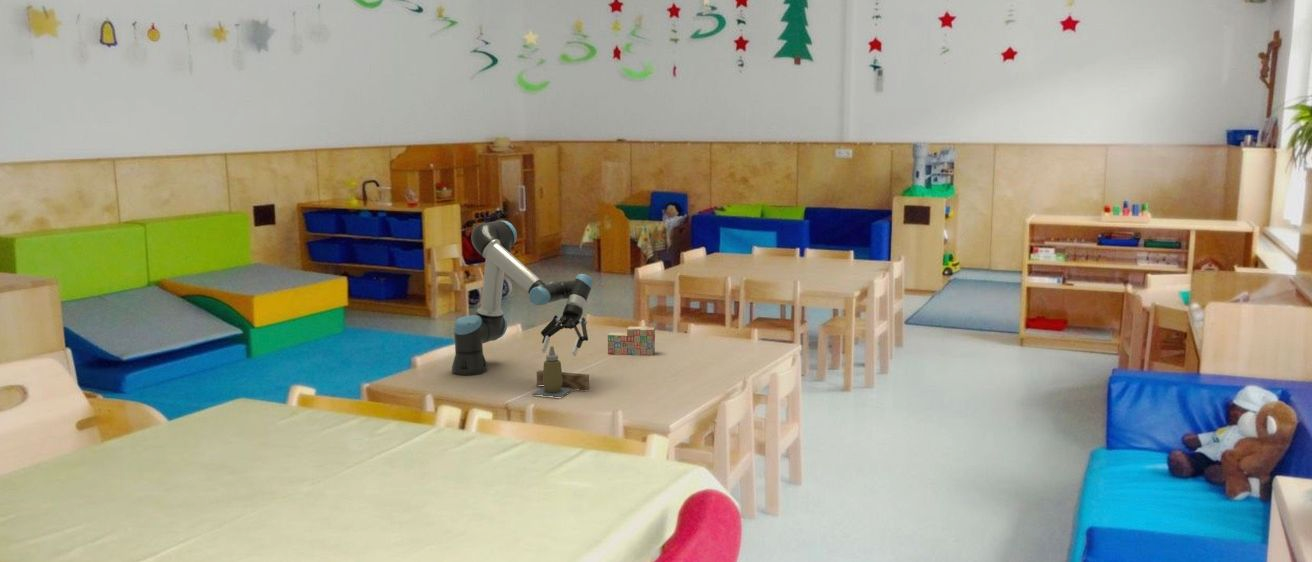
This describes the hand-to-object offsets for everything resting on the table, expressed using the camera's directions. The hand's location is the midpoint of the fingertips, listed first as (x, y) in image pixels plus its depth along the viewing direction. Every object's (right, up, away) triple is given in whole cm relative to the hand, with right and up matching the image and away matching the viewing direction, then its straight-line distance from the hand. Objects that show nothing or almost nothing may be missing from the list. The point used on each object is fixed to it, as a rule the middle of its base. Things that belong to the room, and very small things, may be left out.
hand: (558, 352), depth 387 cm
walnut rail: (+1, -15, +7) cm, 16 cm away
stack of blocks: (+27, -5, +65) cm, 71 cm away
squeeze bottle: (-2, -15, -1) cm, 15 cm away
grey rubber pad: (-2, -16, -1) cm, 16 cm away
